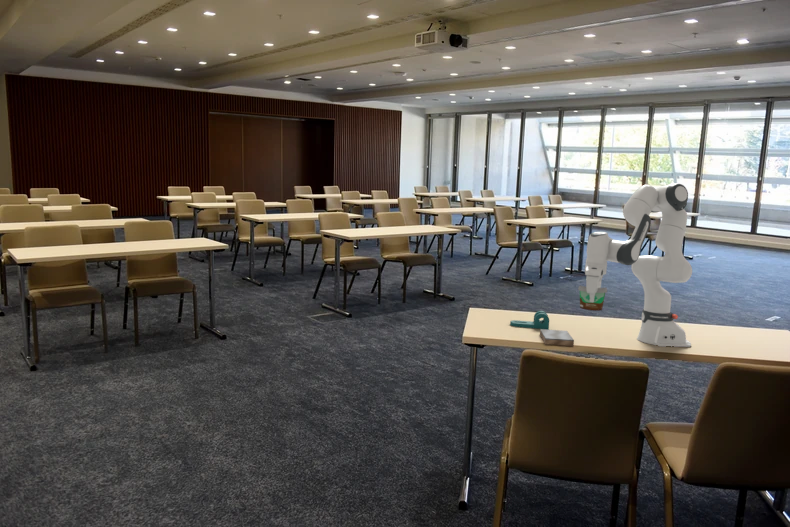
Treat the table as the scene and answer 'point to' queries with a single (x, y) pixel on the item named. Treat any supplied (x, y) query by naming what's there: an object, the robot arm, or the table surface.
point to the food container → (598, 300)
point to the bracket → (534, 322)
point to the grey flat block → (556, 337)
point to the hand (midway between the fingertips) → (592, 300)
